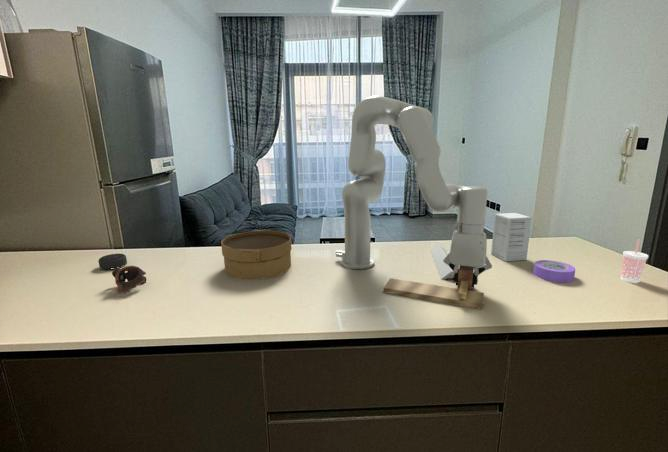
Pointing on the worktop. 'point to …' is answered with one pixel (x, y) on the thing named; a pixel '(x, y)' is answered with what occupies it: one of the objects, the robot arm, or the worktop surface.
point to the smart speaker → (112, 261)
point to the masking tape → (554, 271)
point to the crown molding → (441, 262)
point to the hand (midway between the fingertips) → (465, 284)
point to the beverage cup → (633, 265)
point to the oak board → (434, 293)
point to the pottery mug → (128, 277)
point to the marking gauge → (464, 280)
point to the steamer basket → (257, 254)
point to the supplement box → (511, 236)
